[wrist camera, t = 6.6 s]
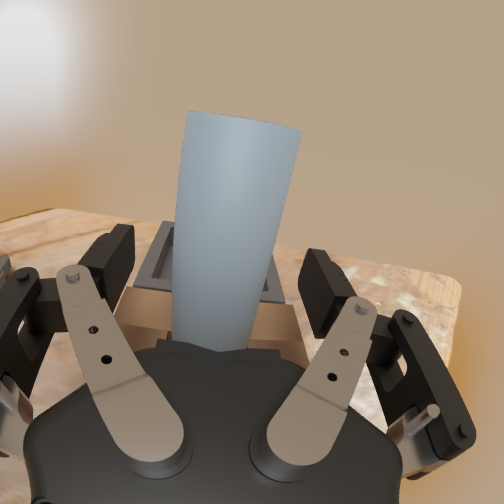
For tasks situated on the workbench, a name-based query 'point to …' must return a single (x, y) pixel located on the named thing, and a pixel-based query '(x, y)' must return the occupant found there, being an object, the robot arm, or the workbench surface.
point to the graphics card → (4, 269)
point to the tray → (160, 268)
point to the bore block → (160, 324)
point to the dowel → (226, 224)
